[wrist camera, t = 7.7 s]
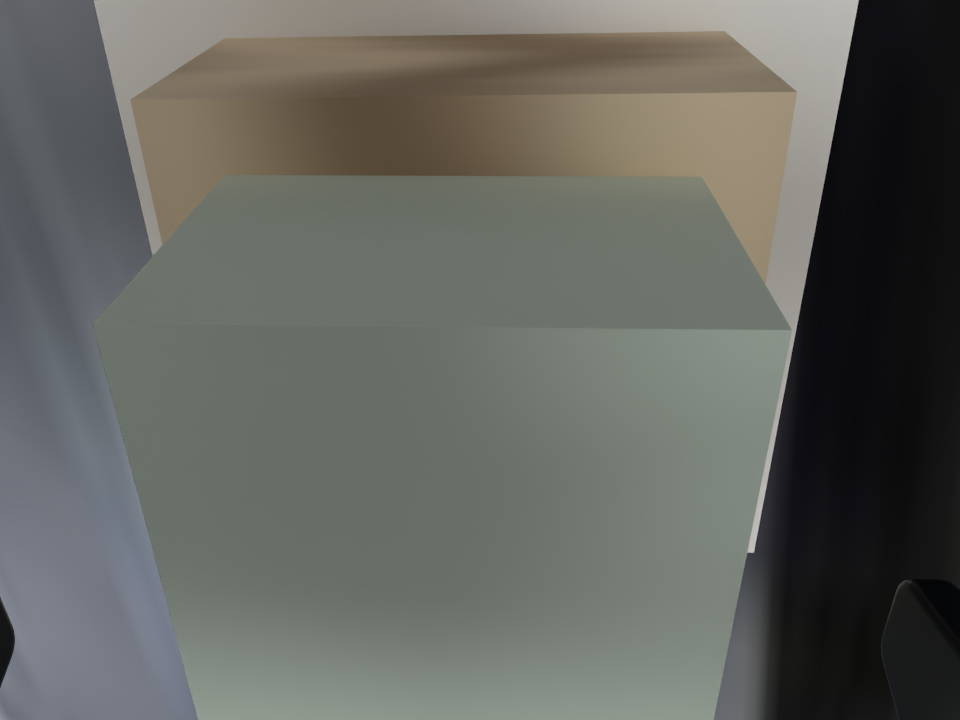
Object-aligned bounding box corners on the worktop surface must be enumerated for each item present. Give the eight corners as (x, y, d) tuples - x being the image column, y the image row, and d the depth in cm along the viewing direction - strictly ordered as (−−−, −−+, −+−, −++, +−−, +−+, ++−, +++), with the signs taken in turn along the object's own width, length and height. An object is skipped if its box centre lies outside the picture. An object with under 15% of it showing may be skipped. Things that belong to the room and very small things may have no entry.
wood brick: (724, 31, 14) (797, 91, 10) (675, 442, 18) (715, 585, 14) (224, 38, 14) (130, 100, 10) (289, 441, 18) (236, 581, 15)
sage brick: (701, 176, 11) (792, 330, 7) (655, 540, 14) (703, 770, 10) (225, 175, 11) (92, 324, 7) (283, 534, 14) (207, 758, 10)
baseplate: (859, -193, 13) (896, -198, 12) (738, 508, 20) (753, 552, 19) (96, -175, 14) (53, -177, 12) (238, 505, 21) (220, 548, 20)
